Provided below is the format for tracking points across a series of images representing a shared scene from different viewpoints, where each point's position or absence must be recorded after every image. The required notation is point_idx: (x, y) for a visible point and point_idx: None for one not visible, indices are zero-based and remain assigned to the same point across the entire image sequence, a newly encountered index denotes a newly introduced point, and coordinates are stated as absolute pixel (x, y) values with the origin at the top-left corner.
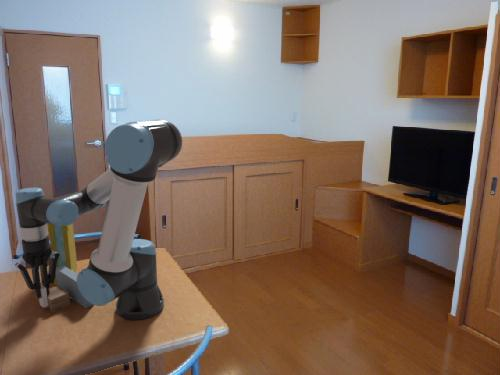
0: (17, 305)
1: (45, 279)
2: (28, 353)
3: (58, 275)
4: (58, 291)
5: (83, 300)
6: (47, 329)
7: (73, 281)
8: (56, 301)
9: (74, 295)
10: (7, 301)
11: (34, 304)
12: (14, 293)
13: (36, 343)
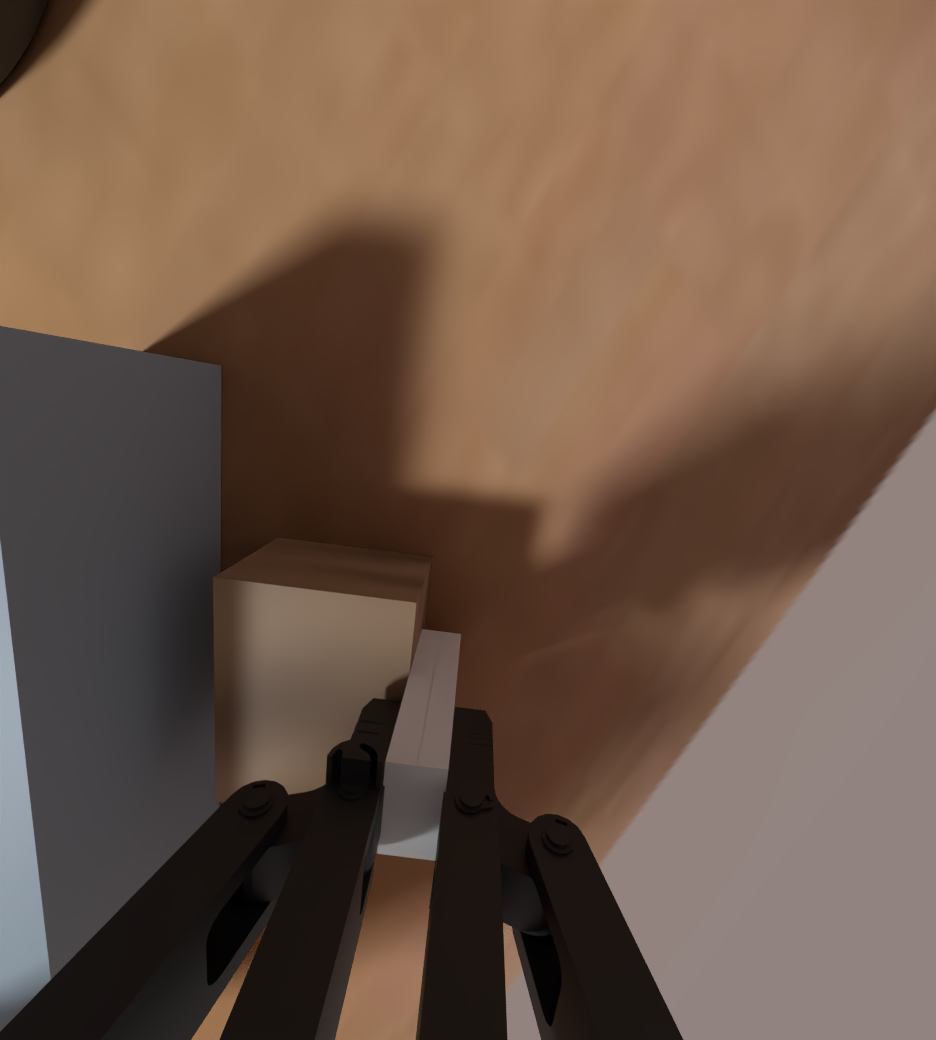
0: None
1: (337, 888)
2: (933, 126)
3: None
4: (272, 690)
5: (177, 395)
6: (612, 344)
7: (44, 641)
8: (369, 580)
9: (188, 575)
10: None
11: None
12: None
13: (797, 217)
